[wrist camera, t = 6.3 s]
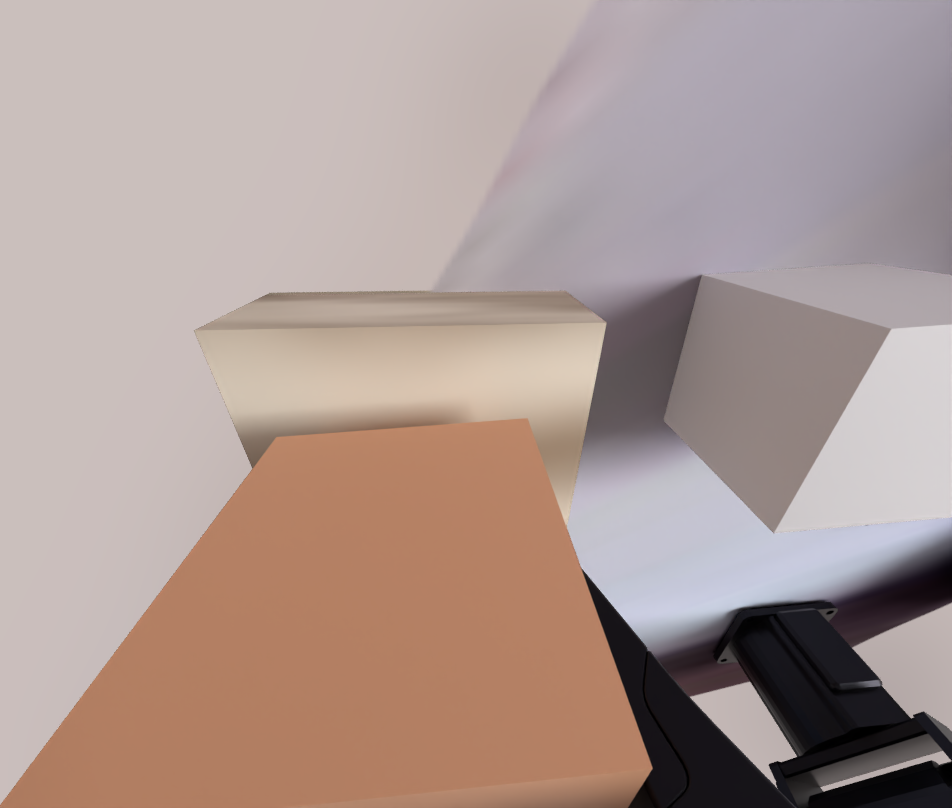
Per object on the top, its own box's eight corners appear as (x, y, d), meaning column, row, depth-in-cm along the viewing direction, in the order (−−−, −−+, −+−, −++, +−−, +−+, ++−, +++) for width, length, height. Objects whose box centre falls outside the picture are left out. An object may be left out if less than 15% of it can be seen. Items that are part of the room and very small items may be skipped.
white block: (796, 408, 15) (975, 515, 10) (662, 419, 15) (773, 533, 10) (867, 262, 12) (1178, 307, 7) (700, 274, 12) (891, 328, 7)
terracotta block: (522, 571, 11) (582, 878, 6) (339, 587, 11) (243, 917, 6) (527, 418, 8) (652, 768, 3) (276, 436, 8) (-28, 841, 3)
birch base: (537, 495, 17) (558, 568, 14) (332, 504, 17) (301, 584, 13) (562, 288, 12) (606, 322, 9) (270, 292, 12) (193, 330, 8)
